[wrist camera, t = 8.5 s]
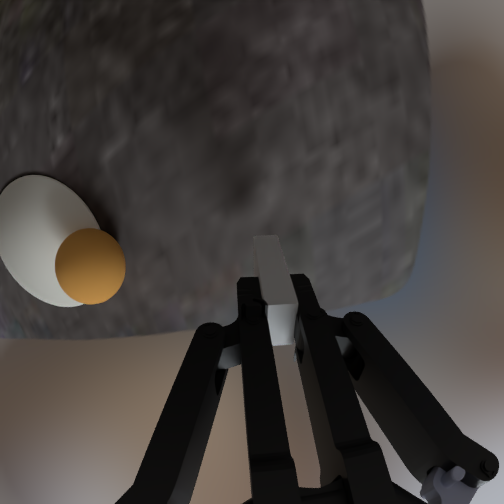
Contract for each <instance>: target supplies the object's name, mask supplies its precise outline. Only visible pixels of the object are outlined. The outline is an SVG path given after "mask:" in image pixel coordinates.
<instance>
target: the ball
mask: <svg viewBox="0 0 504 504" xmlns="http://www.w3.org/2000/svg"><path fill="white" fill-rule="evenodd" d="M55 273H56V277H57V280H58V283H59V285H60V287H61V288H62V290H63V291H64V292H65V293H66V294H67V295H68V296H69V297H70V298H72V299H73V300H75V301H77V302H80V303H84V304H98V303H101V302H104V301H106V300H108V299H109V298H111V297H112V296H113V295H114V294H115V293H116V292H117V291H118V289H119V288H120V286H121V284H122V282H123V280H124V276H125V257H124V254H123V251H122V249H121V247H120V245H119V244H118V242H117V241H116V240H115V239H114V238H113V237H112V236H111V235H109V234H108V233H106V232H104V231H102V230H99V229H95V228H85V229H80V230H78V231H75V232H73V233H72V234H70V235H69V236H68V237H67V238H66V239H65V240H64V241H63V242H62V243H61V245H60V247H59V249H58V251H57V254H56V258H55Z"/></svg>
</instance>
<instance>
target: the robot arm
mask: <svg viewBox="0 0 504 504" xmlns="http://www.w3.org/2000/svg"><path fill="white" fill-rule="evenodd" d="M253 256H254V277H241V278H240V279H239V281H238V282H237V298H238V318H237V320H236V321H235V322H233V323H232V324H230V325H227V326H224V327H222V326H221V325H220V324H217V323H205V324H202V325H201V326H199V327H198V329H197V330H196V332H195V334H194V337H193V339H192V341H191V344H190V346H189V348H188V351H187V353H186V355H185V358H184V360H183V363H182V365H181V367H180V370H179V372H178V374H177V377H176V379H175V382H174V384H173V386H172V389H171V392H170V394H169V396H168V399H167V401H166V403H165V406H164V408H163V411H162V413H161V416H160V418H159V421H158V423H157V426H156V428H155V431H154V433H153V435H152V438H151V440H150V443H149V446H148V448H147V450H146V453H145V456H144V458H143V461H142V463H141V466H140V468H139V471H138V473H137V476H136V478H135V481H134V484H133V485H132V486H131V488H129V489H128V490H127V492H126V493H125V494H124V495H123V496H122V497H121V498H120V499H119V500H118V501H117V502H116V503H115V504H189V503H190V500H191V497H192V493H193V490H194V487H195V483H196V480H197V477H198V473H199V470H200V466H201V463H202V460H203V456H204V453H205V449H206V446H207V443H208V439H209V435H210V432H211V429H212V425H213V421H214V418H215V415H216V411H217V408H218V404H219V401H220V397H221V394H222V390H223V387H224V383H225V380H226V376H227V373H228V368H230V367H234V366H237V365H240V364H241V366H242V380H243V394H244V407H245V421H246V434H247V445H248V458H249V470H250V482H251V494H252V498H250V499H249V500H247V501H246V502H244V503H243V504H427V503H426V502H424V501H422V500H421V499H419V498H417V497H416V496H414V495H412V494H411V493H409V492H408V491H406V490H405V489H403V488H401V487H400V486H398V485H397V484H395V483H394V482H392V481H391V478H390V475H389V471H388V468H387V465H386V462H385V459H384V456H383V452H382V449H381V447H380V445H379V444H378V443H377V442H375V441H373V440H372V439H371V437H370V434H369V431H368V428H367V425H366V422H365V419H364V416H363V413H362V410H361V407H360V404H359V401H358V398H357V395H356V392H357V394H358V395H359V396H360V398H361V399H362V401H363V403H364V404H365V405H366V407H367V408H368V410H369V412H370V413H371V414H372V416H373V418H374V419H375V421H376V422H377V423H378V425H379V427H380V428H381V430H382V431H383V433H384V434H385V436H386V437H387V439H388V440H389V442H390V443H391V445H392V446H393V448H394V449H395V451H396V452H397V454H398V455H399V457H400V458H401V460H402V461H403V463H404V464H405V466H406V467H407V469H408V470H409V471H410V473H411V474H412V475H413V476H414V477H415V478H416V479H417V480H418V481H419V482H420V483H422V489H421V491H420V495H421V497H422V498H424V499H426V500H427V501H428V504H469V503H470V501H471V500H472V498H473V496H474V494H475V493H476V491H477V489H478V488H479V487H480V486H482V485H483V484H485V483H487V482H488V481H490V480H492V479H493V478H494V477H495V476H496V474H497V473H498V469H499V461H498V459H497V457H496V456H495V455H494V454H493V453H492V452H490V451H488V450H487V449H485V448H484V447H482V446H481V445H479V444H478V443H476V442H474V441H473V440H472V439H470V438H468V437H467V436H465V435H464V434H463V433H462V432H461V431H460V429H459V428H458V427H457V425H456V424H455V423H454V421H453V420H452V419H451V417H449V415H448V414H447V412H446V411H445V410H444V408H443V407H442V406H441V405H440V403H439V402H438V401H437V400H436V398H435V397H434V396H433V395H432V393H431V392H430V391H429V390H428V388H427V387H426V386H425V385H424V383H423V382H422V381H421V380H420V379H419V377H418V376H417V375H416V374H415V372H414V371H413V370H412V369H411V368H410V366H409V365H408V364H407V363H406V362H405V360H404V359H403V358H402V357H401V356H400V354H399V353H398V352H397V351H396V350H395V348H394V347H393V346H392V345H391V344H390V343H389V341H388V340H387V339H386V338H385V337H384V336H383V334H382V333H381V332H380V331H379V330H378V329H377V327H376V326H375V325H374V324H373V323H372V322H371V321H370V319H369V318H368V317H367V316H366V315H364V314H362V313H360V312H349V313H347V314H346V315H345V316H344V318H337V317H332V316H329V315H327V313H326V312H325V310H323V309H322V308H320V306H319V304H318V301H317V298H316V296H315V293H314V291H313V288H312V286H311V283H310V280H309V278H308V277H306V276H305V275H304V274H289V271H288V268H287V264H286V261H285V258H284V255H283V252H282V248H281V245H280V242H279V239H278V236H277V235H267V236H253ZM294 338H295V343H296V347H295V354H294V362H295V361H296V358H297V363H298V367H299V371H300V376H301V380H302V385H303V389H304V394H305V398H306V402H307V406H308V412H309V417H310V421H311V425H312V430H313V435H314V440H315V444H316V449H317V454H318V459H319V464H320V469H321V470H320V471H321V473H320V484H321V488H302V487H299V486H298V481H297V474H296V468H295V463H294V460H293V458H292V457H291V454H290V449H289V443H288V437H287V431H286V425H285V419H284V413H283V407H282V401H281V395H280V389H279V384H278V377H277V371H276V365H275V359H274V354H273V347H272V346H276V345H287V344H293V342H294ZM355 391H356V392H355Z"/></svg>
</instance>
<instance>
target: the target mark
mask: <svg viewBox="0 0 504 504" xmlns="http://www.w3.org/2000/svg"><path fill="white" fill-rule="evenodd" d="M85 228H95V229H99V230H101V229H100V227H99V225H98V223H97V221H96V219H95V217H94V215H93V214H92V212H91V211H90V209H89V208H88V206H87V205H86V204H85V203H84V202H83V200H82V199H81V198H80V197H79V196H78V195H77V194H76V193H75V192H74V191H73V190H71V189H70V188H68V187H67V186H66V185H64V184H63V183H61V182H59V181H57V180H55V179H53V178H50V177H47V176H42V175H27V176H23V177H20V178H18V179H16V180H15V181H13V182H11V183H10V184H9V185H8V186H7V187H6V188H5V189H4V190H3V192H2V193H1V195H0V256H1V258H2V260H3V262H4V264H5V266H6V267H7V269H8V271H9V272H10V273H11V275H12V276H13V277H14V279H15V280H16V281H17V282H18V283H19V284H20V285H21V286H22V287H23V288H24V289H25V290H26V291H28V292H29V293H30V294H32V295H33V296H35V297H36V298H38V299H40V300H42V301H44V302H46V303H49V304H52V305H56V306H62V307H74V306H79V305H82V304H84V303H80V302H77V301H75V300H73V299H72V298H70V297H69V296H68V295H67V294H66V293H65V292H64V291H63V290H62V288H61V287H60V285H59V283H58V280H57V277H56V273H55V258H56V254H57V251H58V249H59V247H60V245H61V243H62V242H63V241H64V240H65V239H66V238H67V237H68V236H69V235H70V234H72V233H73V232H75V231H78V230H80V229H85Z"/></svg>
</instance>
